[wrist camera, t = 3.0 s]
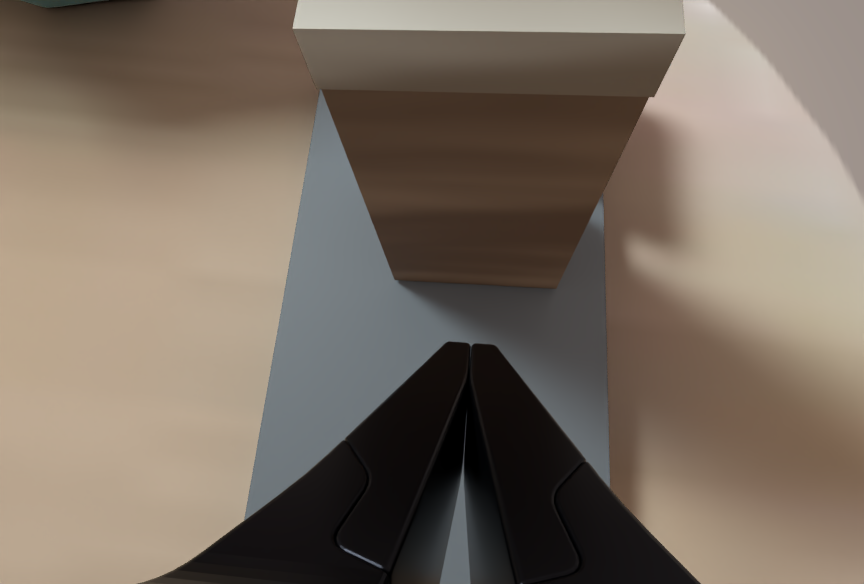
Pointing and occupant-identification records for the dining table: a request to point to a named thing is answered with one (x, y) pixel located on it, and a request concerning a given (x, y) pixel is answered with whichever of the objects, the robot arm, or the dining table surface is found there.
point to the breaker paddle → (485, 121)
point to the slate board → (413, 336)
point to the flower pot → (58, 2)
